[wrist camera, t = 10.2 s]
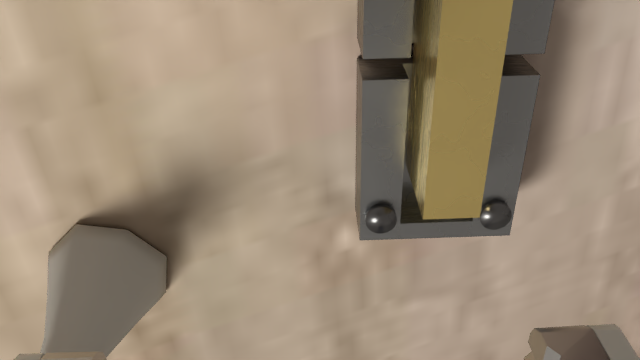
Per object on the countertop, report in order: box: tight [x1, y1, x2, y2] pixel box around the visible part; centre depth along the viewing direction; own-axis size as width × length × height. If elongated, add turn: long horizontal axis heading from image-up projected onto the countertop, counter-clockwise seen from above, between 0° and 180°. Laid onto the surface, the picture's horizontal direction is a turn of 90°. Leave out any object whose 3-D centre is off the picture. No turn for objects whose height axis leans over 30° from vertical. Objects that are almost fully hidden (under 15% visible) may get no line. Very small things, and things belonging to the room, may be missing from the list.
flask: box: [40, 224, 167, 357], centre depth 30 cm, size 7×7×10 cm
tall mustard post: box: [406, 0, 513, 219], centre depth 25 cm, size 12×3×5 cm, turn 1°
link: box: [355, 54, 540, 240], centre depth 29 cm, size 9×8×3 cm
